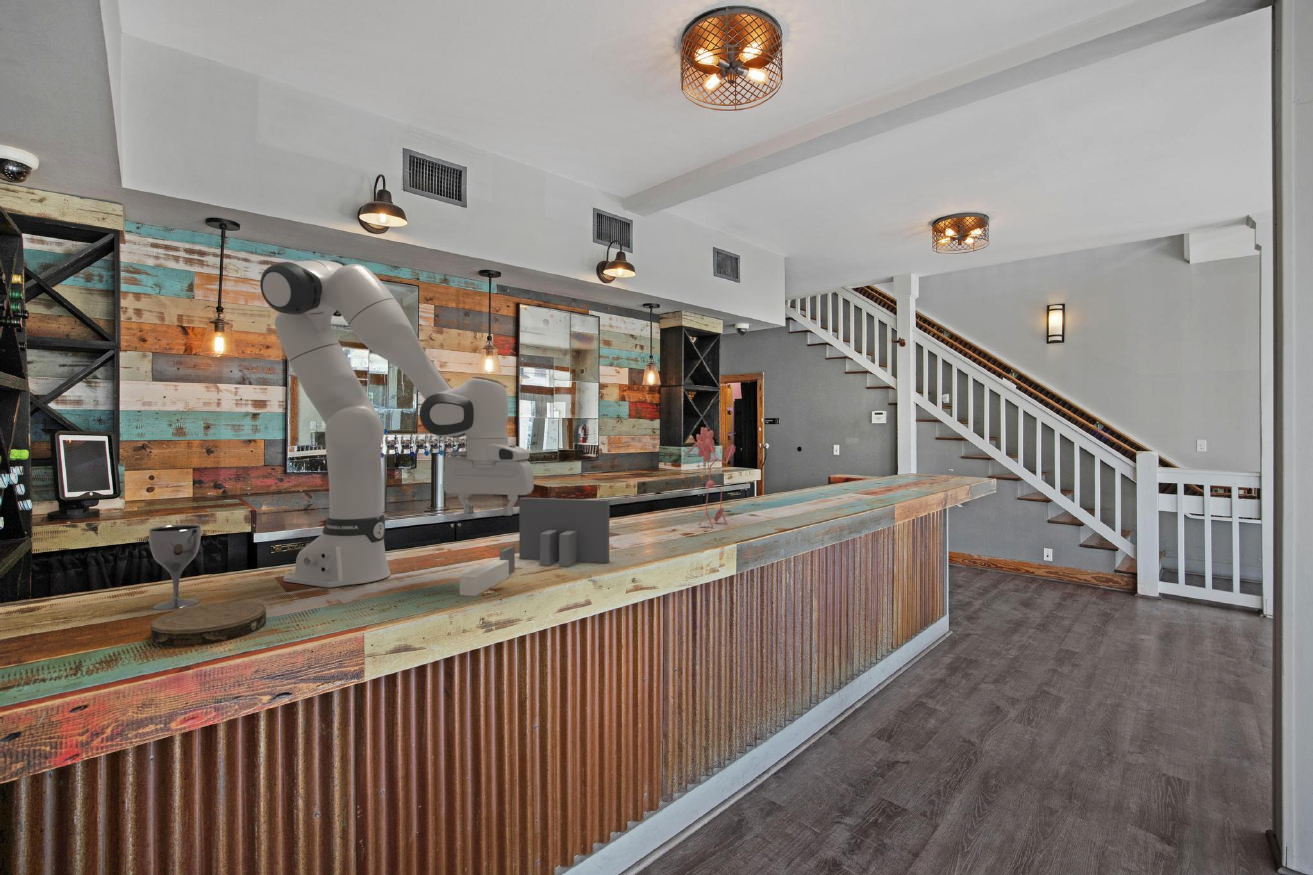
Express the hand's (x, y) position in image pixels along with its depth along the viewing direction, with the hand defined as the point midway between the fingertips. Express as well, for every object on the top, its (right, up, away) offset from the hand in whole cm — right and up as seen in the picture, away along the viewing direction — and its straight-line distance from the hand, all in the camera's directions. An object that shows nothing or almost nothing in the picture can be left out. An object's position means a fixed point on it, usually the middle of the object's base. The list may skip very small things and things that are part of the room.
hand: (488, 514), depth 135 cm
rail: (0, -16, +3) cm, 16 cm away
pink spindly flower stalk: (+54, -15, +85) cm, 102 cm away
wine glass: (-57, -16, -15) cm, 61 cm away
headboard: (+12, -15, +22) cm, 29 cm away
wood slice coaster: (-39, -17, -30) cm, 52 cm away
